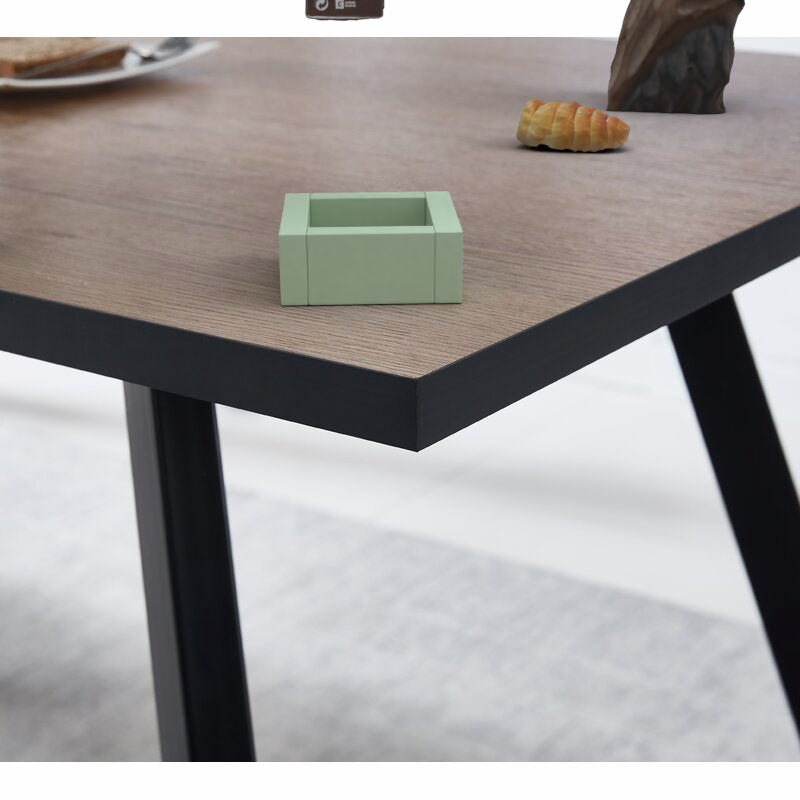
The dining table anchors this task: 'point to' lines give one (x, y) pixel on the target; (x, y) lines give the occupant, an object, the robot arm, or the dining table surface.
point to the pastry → (570, 127)
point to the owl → (674, 56)
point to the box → (344, 9)
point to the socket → (370, 248)
